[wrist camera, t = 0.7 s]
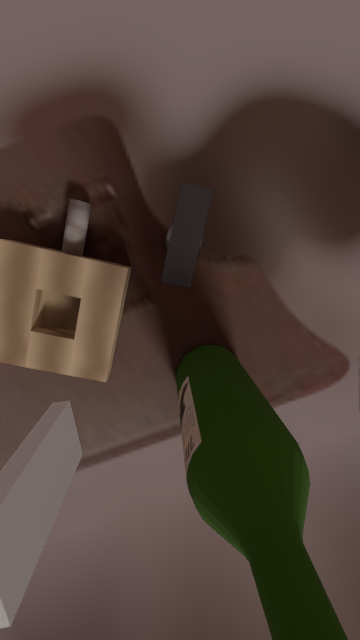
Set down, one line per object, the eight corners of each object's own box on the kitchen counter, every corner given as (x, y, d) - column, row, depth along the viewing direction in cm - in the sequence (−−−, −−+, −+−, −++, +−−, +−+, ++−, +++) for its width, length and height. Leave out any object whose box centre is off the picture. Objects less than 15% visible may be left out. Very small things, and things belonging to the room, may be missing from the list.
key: (159, 271, 38) (157, 281, 24) (172, 209, 36) (178, 180, 22) (182, 276, 38) (193, 289, 24) (196, 215, 37) (217, 190, 23)
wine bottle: (173, 346, 40) (212, 692, 8) (239, 340, 40) (519, 652, 9) (178, 407, 42) (224, 878, 10) (241, 401, 42) (476, 840, 11)
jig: (3, 349, 39) (-14, 359, 35) (22, 188, 35) (5, 180, 31) (111, 370, 40) (105, 382, 36) (141, 217, 36) (138, 213, 33)
